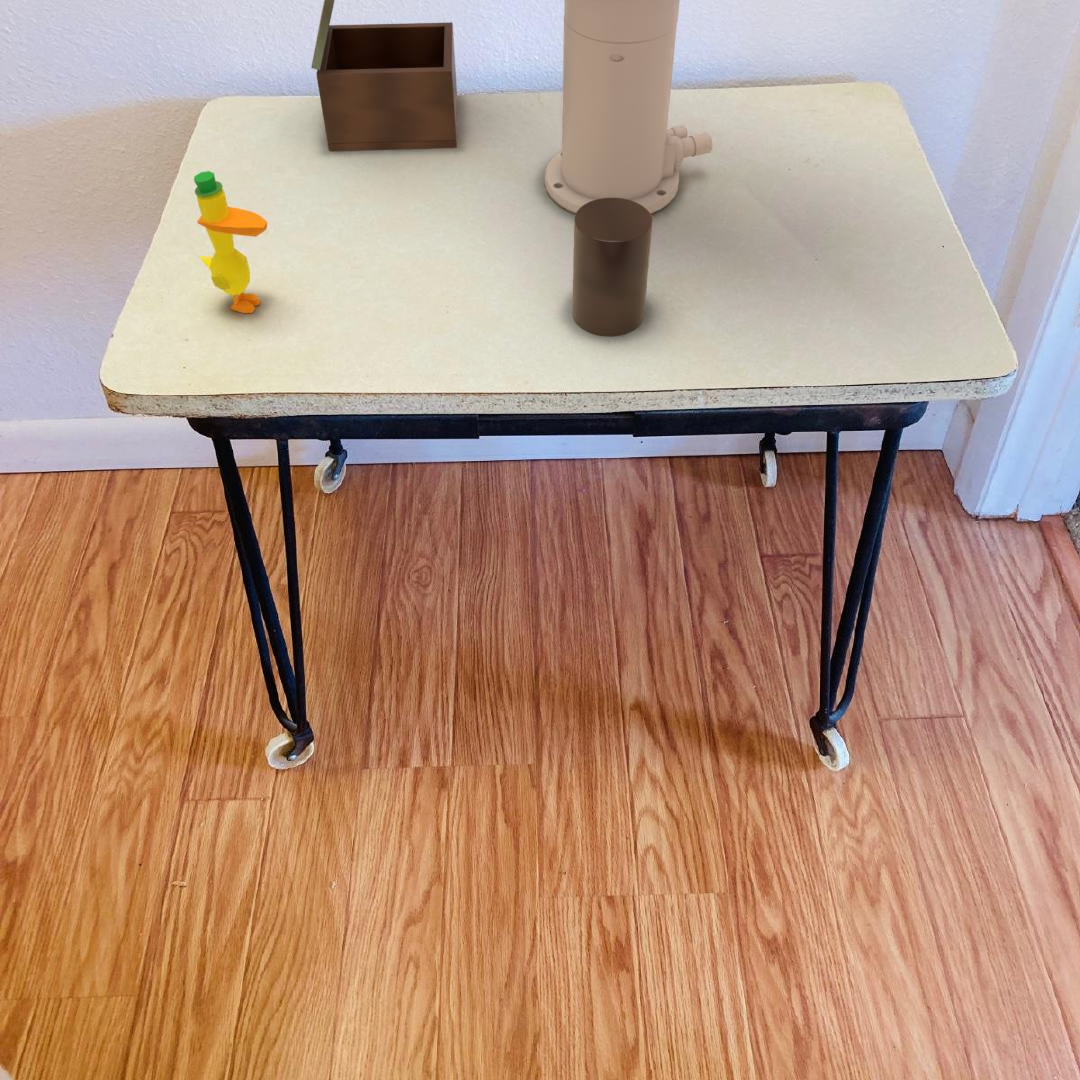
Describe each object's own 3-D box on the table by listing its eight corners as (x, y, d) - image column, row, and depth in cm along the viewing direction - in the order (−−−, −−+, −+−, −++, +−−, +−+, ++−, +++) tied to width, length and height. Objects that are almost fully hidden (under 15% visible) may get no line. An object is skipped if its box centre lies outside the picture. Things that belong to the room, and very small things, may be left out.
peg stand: (625, 284, 93) (631, 190, 86) (656, 325, 89) (665, 231, 82) (560, 301, 91) (562, 207, 85) (590, 343, 88) (594, 249, 81)
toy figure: (293, 300, 92) (265, 171, 82) (276, 326, 89) (245, 196, 80) (220, 287, 93) (184, 159, 84) (201, 313, 90) (162, 184, 81)
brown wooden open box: (457, 97, 114) (452, 22, 108) (456, 147, 107) (451, 70, 101) (336, 100, 113) (325, 25, 107) (328, 151, 107) (316, 74, 101)
